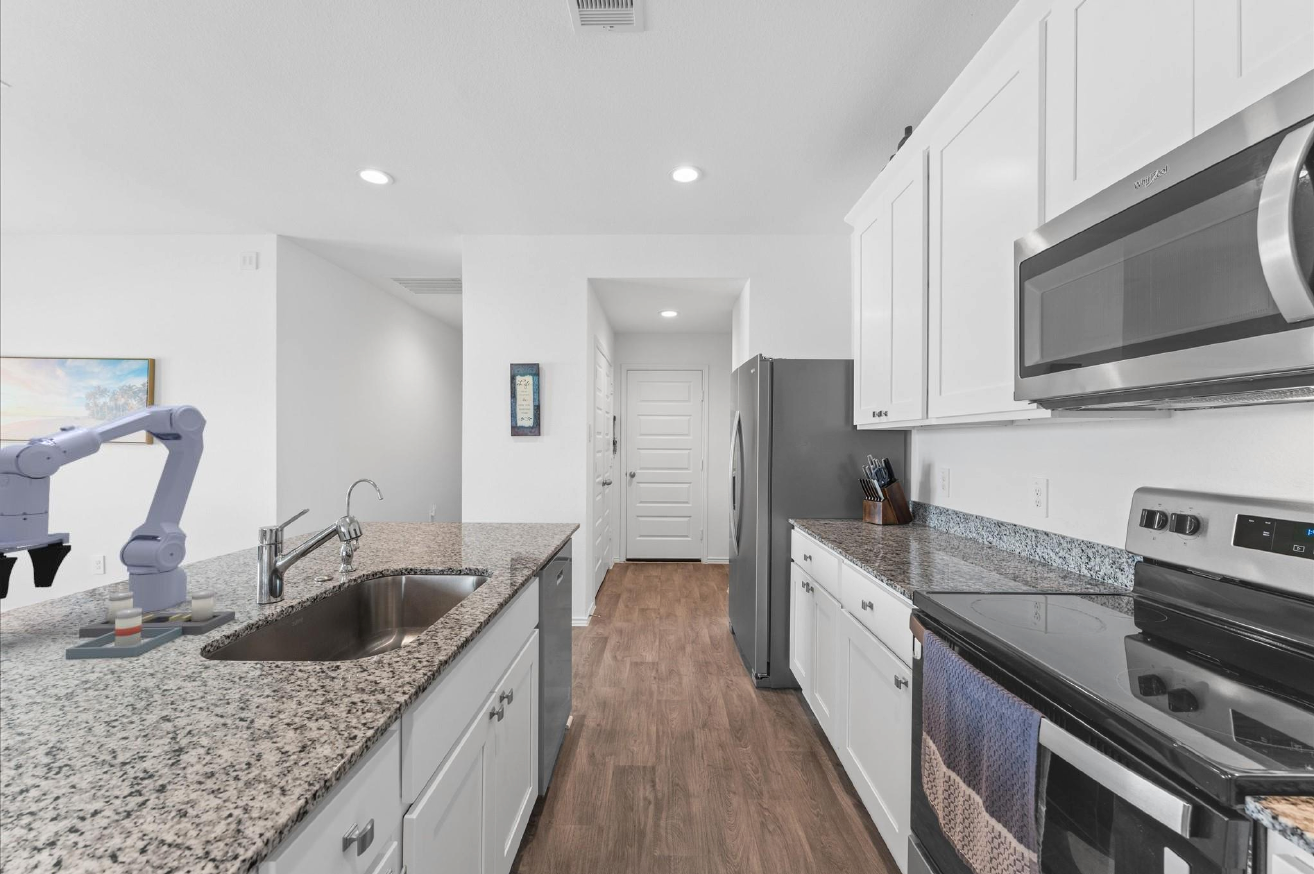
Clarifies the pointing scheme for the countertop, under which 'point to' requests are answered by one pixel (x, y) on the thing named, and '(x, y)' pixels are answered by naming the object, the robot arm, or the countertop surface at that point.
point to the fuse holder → (164, 623)
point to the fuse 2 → (202, 606)
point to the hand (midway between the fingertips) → (21, 592)
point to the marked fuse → (128, 627)
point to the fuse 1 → (119, 603)
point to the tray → (96, 651)
